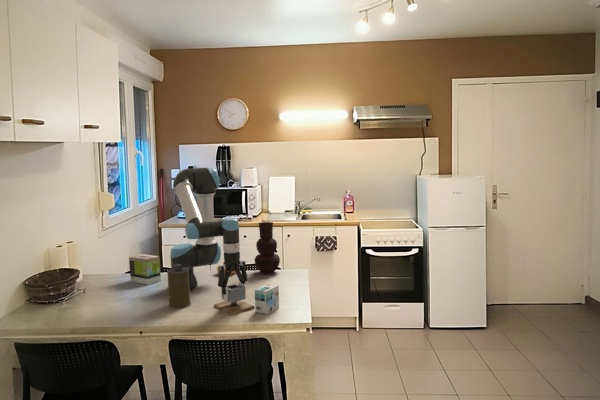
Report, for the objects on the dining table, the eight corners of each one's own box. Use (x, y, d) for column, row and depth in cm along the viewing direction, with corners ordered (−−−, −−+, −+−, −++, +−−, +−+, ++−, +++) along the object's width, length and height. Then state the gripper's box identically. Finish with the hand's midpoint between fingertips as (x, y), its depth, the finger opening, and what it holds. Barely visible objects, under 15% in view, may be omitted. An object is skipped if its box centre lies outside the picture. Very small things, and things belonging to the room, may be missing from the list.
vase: (251, 275, 294) (249, 225, 290) (258, 269, 309) (256, 220, 305) (277, 276, 291) (275, 225, 288) (282, 269, 306) (281, 220, 303)
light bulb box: (266, 314, 228) (265, 291, 227) (254, 312, 232) (253, 289, 230) (279, 307, 237) (279, 285, 236) (268, 305, 241) (267, 283, 239)
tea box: (161, 281, 288) (160, 255, 286) (147, 285, 280) (146, 259, 278) (143, 277, 296) (142, 253, 294) (129, 282, 288) (128, 256, 286)
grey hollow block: (222, 299, 238) (221, 286, 238) (235, 295, 244) (235, 283, 243) (231, 302, 233) (231, 290, 232) (245, 298, 238) (245, 286, 237)
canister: (171, 309, 238) (169, 268, 235) (166, 303, 247) (164, 263, 245) (194, 305, 243) (192, 265, 240) (188, 299, 252) (186, 260, 250)
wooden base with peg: (214, 306, 241) (213, 292, 240) (234, 300, 249) (234, 286, 248) (233, 314, 229) (232, 299, 228) (254, 308, 237) (253, 293, 236)
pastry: (220, 271, 307) (220, 257, 306) (239, 271, 305) (238, 257, 305) (214, 276, 295) (214, 261, 294) (234, 276, 293) (233, 261, 293)
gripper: (217, 256, 226) (219, 305, 228) (254, 248, 240) (256, 295, 242) (208, 254, 231) (210, 301, 234) (245, 246, 245) (246, 292, 248)
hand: (233, 298), depth 238 cm, fingers closed on grey hollow block, 8 cm apart
